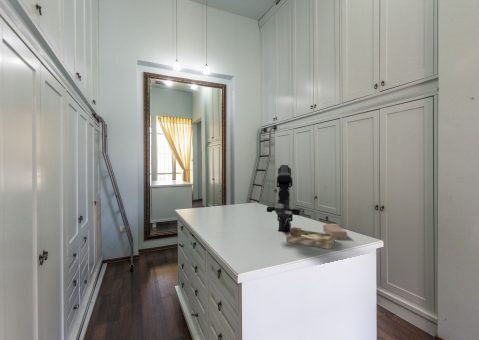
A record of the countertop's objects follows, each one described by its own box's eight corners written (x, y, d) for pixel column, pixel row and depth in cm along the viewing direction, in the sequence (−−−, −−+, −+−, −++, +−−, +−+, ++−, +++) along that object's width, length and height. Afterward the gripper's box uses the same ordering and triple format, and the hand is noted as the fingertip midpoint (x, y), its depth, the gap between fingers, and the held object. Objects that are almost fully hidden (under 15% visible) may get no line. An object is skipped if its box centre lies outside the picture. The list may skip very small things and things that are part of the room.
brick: (347, 239, 126) (347, 230, 126) (332, 239, 127) (332, 230, 126) (336, 231, 143) (336, 223, 143) (322, 231, 143) (322, 223, 143)
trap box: (286, 241, 123) (286, 232, 123) (294, 235, 134) (294, 227, 134) (330, 248, 111) (330, 239, 111) (334, 241, 122) (334, 232, 122)
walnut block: (290, 236, 123) (290, 228, 123) (293, 234, 127) (293, 227, 127) (298, 237, 121) (298, 230, 121) (301, 235, 125) (301, 228, 124)
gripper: (262, 198, 125) (262, 226, 125) (296, 200, 115) (296, 232, 115) (270, 195, 134) (270, 222, 135) (302, 197, 125) (302, 226, 125)
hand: (284, 225), depth 127 cm, fingers closed
